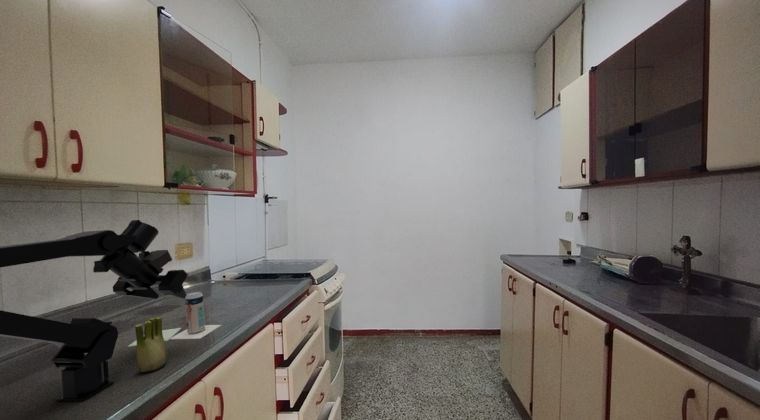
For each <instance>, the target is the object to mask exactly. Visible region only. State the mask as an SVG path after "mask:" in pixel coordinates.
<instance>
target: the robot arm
mask: <svg viewBox="0 0 760 420" xmlns="http://www.w3.org/2000/svg"><path fill="white" fill-rule="evenodd" d="M158 234H159V230H158V228H156V227H155V226H152V225H150V224H148V223H145V222H142V221H141V220H140V219H135V220H134V219H132V220H130V222H129V223H128V225H127V227H125V228H124V230H123V231H122V232H121V233H120V234H117V233H116V231H114V230H110V229H104V230H87V231H86V230H85V231H81V232H78V233H77V232H76V233H74V234H71V235H68V236H67V235H66V236H65V237H62V238H58V239H52V240H44V241H34V242H26V243H18V244H17V243H15V244H8V245H0V268H1V269H2V268H6V267H13V266H18V265H23V264H30V263H37V262H42V261H43V262H44V261H49V260H55V259H61V258H67V257H70V258H71V257H75V258H77V257H94V256H95V257H98V256H99V257H101V256H102V257H101V258H100V259H98V260H94V261H93V269H92V272H93V273H108V272H109V271H111V272H112V273H114V274H115V275H117V281H116V282H115V283H114V284H113V285H112V292H113V293H115V294H116V295H118V296H124V297H125V296H126V297H133V298H134V297H135V298H144V299H153V300H157V299H158V298H159V297H160V295H159V293H158V292H156V290H154V288H153V287H151V286H155V285H158V291H159V292H161V293H162V294H163V295H164V296H168V297H172V298H173V297H174V298H178V299H183V300H185V298H186V295H187V293H186V291H185V288H184V286H183V284H185V281H186V279H187V278H188V276H189V274H188V273H187V271H185V270H184V269H171V270H168V271H167V272H166V274H162V272H163V271H164V268H163V267H165V266H166V265H167V264H168V263H169V262H172V261H173V258H172V256H171V253H170V252H169V250H168V249H158V250H157V249H156V250H152V251H149V250H147V249H148V248H149V246H150V245H151V244H152V243H153V241H154V240H155V238H156V237H157V236H158ZM137 254H138V255H137ZM161 274H162V275H161ZM0 337H5V338H10V339H11V338H13V339H18V340H19V339H20V340H27V341H32V342H33V341H35V342H42V343H49V344H52V345H53V346H56V348H57V347H58V348H59V350H58V352H57V353H56V354H55V355H54V356H53V357H52V359H51V363H52V365H53V366H54V368H56V369H59V368H64V369H62V370H60V372H61V373H60V374H61V390H62V394H61V395H59V396H57V397H56V399H55V401H56V402H59V401H60V402H61V401H63V402H64V401H65V402H68V401H71V402H81V401H85V400H87V399H89V398H90V397H92V396H93V395H96V394H97V393H99V392H101V391H102V390H104V389H105V388H107V387H109V386H110V385H113V384H114V383H115V380H114V379H109V378H110V376H109V375H110V374H109V373H110V372H109V362H108V360H110V359H112V358H113V355H114V351H115V348H116V347H115V346H116V344H117V341H118V337H119V331H118V327H117V326H115V325H113V320H112V321H103V320H101V319H98V318H95V317H72V318H71V321H70V323H68V322H63V321H58V320H52V319H48V318H43V317H37V316H31V315H27V314H22V313H16V312H11V311H7V310H1V309H0Z"/></svg>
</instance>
